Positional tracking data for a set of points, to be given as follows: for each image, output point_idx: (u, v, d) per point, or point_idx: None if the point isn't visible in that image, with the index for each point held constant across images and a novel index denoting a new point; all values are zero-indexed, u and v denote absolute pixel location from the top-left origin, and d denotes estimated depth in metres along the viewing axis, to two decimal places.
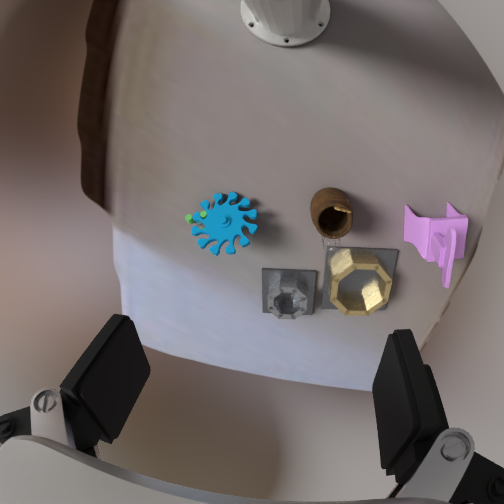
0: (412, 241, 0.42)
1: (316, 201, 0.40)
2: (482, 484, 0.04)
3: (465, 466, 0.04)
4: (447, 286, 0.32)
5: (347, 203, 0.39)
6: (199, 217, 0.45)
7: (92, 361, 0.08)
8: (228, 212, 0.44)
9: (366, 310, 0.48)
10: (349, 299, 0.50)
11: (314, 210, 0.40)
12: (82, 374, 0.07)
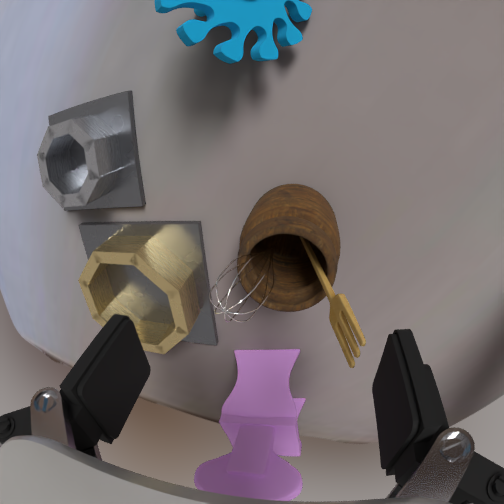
0: (241, 374, 0.26)
1: (322, 212, 0.16)
2: (482, 484, 0.04)
3: (465, 466, 0.04)
4: (199, 489, 0.17)
5: None
6: None
7: (92, 361, 0.08)
8: None
9: (98, 315, 0.24)
10: (108, 273, 0.26)
11: (303, 212, 0.15)
12: (82, 374, 0.07)
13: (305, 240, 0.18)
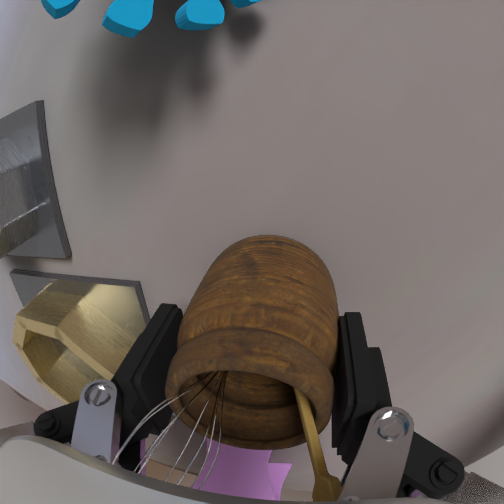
0: (210, 453, 0.18)
1: (313, 305, 0.09)
2: (424, 468, 0.05)
3: (409, 441, 0.05)
4: None
5: None
6: None
7: (147, 350, 0.09)
8: None
9: (41, 379, 0.17)
10: None
11: (277, 313, 0.08)
12: (139, 362, 0.08)
13: None
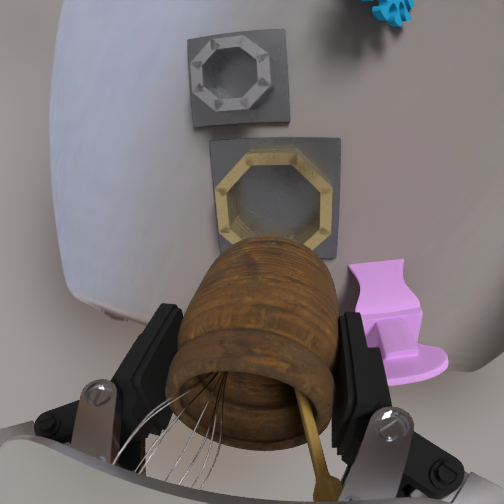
0: (362, 281, 0.28)
1: (314, 305, 0.09)
2: (424, 468, 0.05)
3: (409, 441, 0.05)
4: None
5: None
6: None
7: (147, 350, 0.09)
8: None
9: (228, 227, 0.27)
10: (236, 189, 0.28)
11: (278, 314, 0.08)
12: (139, 362, 0.08)
13: None
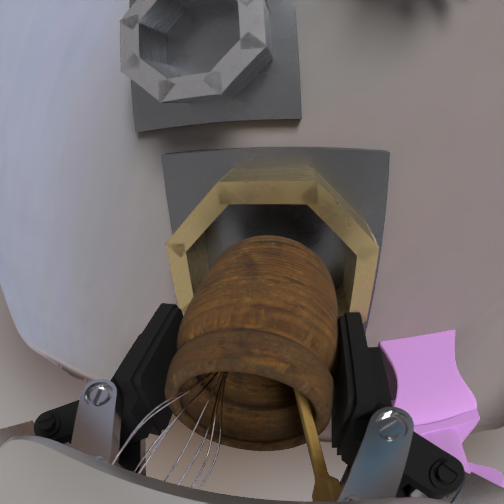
0: (400, 371, 0.17)
1: (313, 306, 0.09)
2: (424, 468, 0.05)
3: (409, 441, 0.05)
4: None
5: None
6: None
7: (147, 350, 0.09)
8: None
9: None
10: (208, 237, 0.17)
11: (277, 314, 0.08)
12: (139, 362, 0.08)
13: None
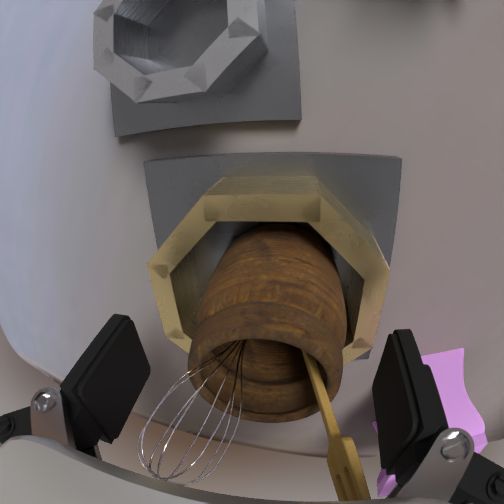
0: None
1: (322, 283, 0.10)
2: (482, 484, 0.04)
3: (465, 466, 0.04)
4: None
5: None
6: None
7: (92, 361, 0.08)
8: None
9: (182, 331, 0.14)
10: (196, 253, 0.15)
11: (290, 289, 0.09)
12: (82, 374, 0.07)
13: None
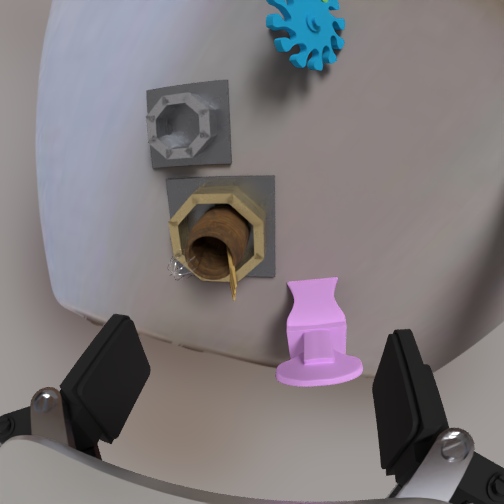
0: (296, 297, 0.35)
1: (232, 223, 0.29)
2: (482, 484, 0.04)
3: (465, 466, 0.04)
4: (284, 381, 0.25)
5: None
6: None
7: (92, 361, 0.08)
8: (323, 31, 0.21)
9: (181, 253, 0.33)
10: (188, 220, 0.34)
11: (219, 224, 0.28)
12: (82, 374, 0.07)
13: None
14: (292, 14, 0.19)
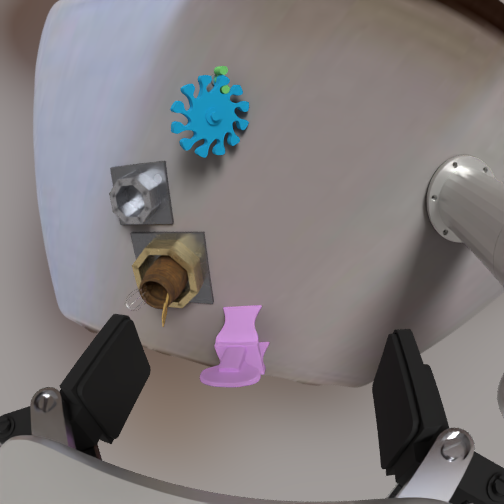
0: (227, 320, 0.46)
1: (170, 270, 0.40)
2: (482, 484, 0.04)
3: (465, 466, 0.04)
4: (203, 381, 0.37)
5: (175, 298, 0.42)
6: (222, 84, 0.30)
7: (92, 361, 0.08)
8: (224, 121, 0.32)
9: None
10: (148, 262, 0.46)
11: (161, 271, 0.40)
12: (82, 373, 0.07)
13: None
14: (192, 117, 0.30)
